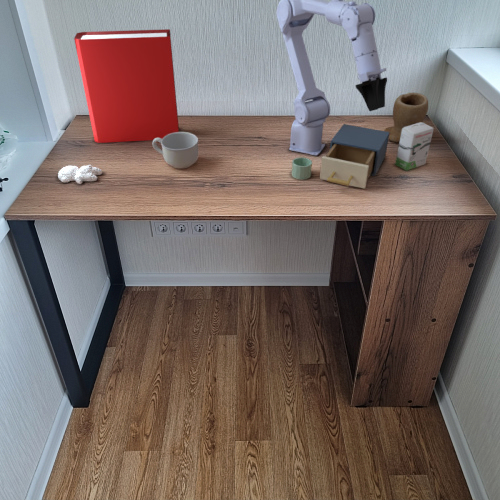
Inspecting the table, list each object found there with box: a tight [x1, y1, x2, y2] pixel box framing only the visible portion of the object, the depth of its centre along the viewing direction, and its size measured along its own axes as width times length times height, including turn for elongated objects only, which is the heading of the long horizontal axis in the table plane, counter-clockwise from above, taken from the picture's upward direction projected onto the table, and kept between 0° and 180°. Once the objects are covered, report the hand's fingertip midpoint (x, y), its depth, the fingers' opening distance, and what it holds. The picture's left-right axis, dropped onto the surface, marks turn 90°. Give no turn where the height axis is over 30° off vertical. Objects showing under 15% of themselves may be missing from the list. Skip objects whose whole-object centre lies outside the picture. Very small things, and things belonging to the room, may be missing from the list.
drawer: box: [319, 144, 376, 189], centre depth 143 cm, size 17×13×7 cm
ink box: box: [394, 122, 435, 172], centre depth 149 cm, size 9×5×12 cm, turn 123°
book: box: [73, 28, 180, 144], centre depth 159 cm, size 27×8×32 cm, turn 97°
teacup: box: [151, 131, 199, 170], centre depth 151 cm, size 14×11×8 cm
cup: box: [291, 156, 313, 181], centre depth 146 cm, size 6×6×4 cm
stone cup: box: [383, 91, 429, 143], centre depth 162 cm, size 15×12×15 cm
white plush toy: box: [57, 164, 103, 185], centre depth 146 cm, size 9×12×3 cm
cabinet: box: [329, 123, 390, 177], centre depth 152 cm, size 13×14×8 cm
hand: (377, 109), depth 131 cm, fingers open, 7 cm apart
